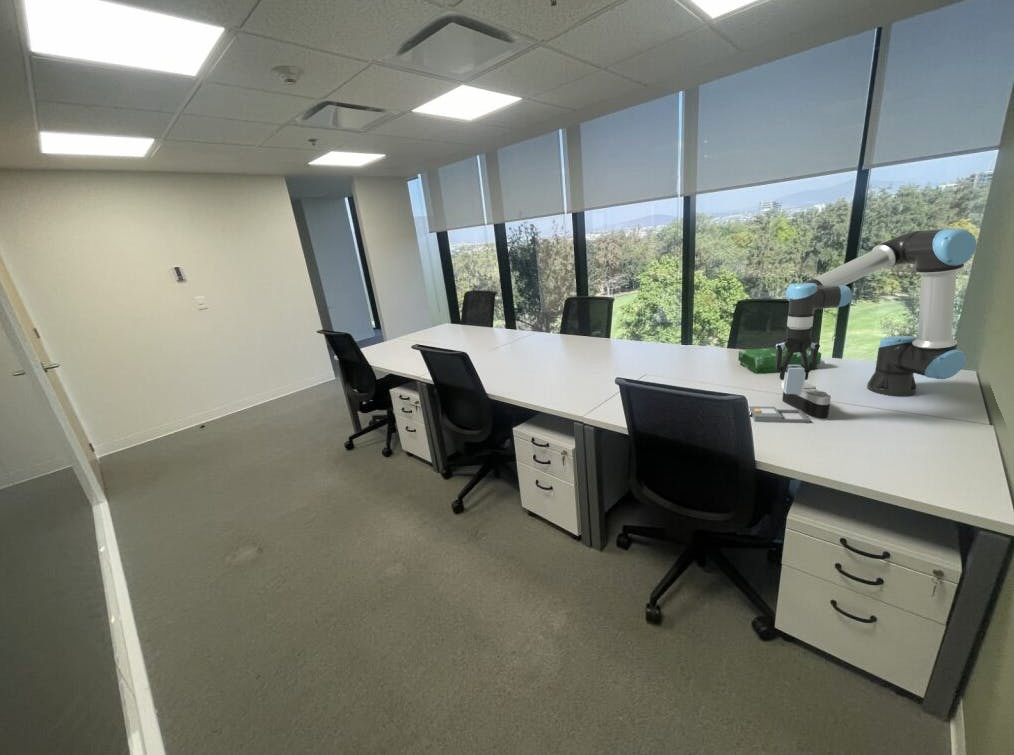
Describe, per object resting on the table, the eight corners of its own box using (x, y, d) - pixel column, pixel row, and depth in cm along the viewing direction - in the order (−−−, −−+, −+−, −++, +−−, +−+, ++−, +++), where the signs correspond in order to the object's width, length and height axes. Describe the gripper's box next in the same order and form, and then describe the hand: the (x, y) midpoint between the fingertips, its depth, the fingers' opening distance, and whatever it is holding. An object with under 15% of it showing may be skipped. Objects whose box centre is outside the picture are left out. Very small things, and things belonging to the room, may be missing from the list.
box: (754, 377, 202) (755, 358, 199) (736, 367, 219) (737, 349, 216) (821, 372, 199) (823, 352, 196) (797, 362, 217) (799, 344, 214)
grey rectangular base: (800, 412, 160) (801, 405, 159) (809, 423, 151) (810, 415, 150) (740, 411, 167) (740, 404, 166) (745, 421, 158) (746, 414, 157)
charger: (796, 389, 156) (800, 364, 153) (801, 394, 151) (804, 368, 148) (781, 389, 157) (784, 364, 154) (785, 394, 153) (788, 368, 150)
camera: (840, 418, 152) (844, 393, 149) (814, 421, 152) (817, 396, 149) (799, 398, 173) (802, 376, 170) (776, 401, 173) (779, 379, 170)
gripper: (824, 324, 147) (816, 384, 154) (767, 326, 153) (762, 384, 160) (833, 328, 140) (824, 391, 147) (773, 330, 146) (767, 390, 153)
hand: (792, 387), depth 153 cm, fingers closed on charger, 5 cm apart
